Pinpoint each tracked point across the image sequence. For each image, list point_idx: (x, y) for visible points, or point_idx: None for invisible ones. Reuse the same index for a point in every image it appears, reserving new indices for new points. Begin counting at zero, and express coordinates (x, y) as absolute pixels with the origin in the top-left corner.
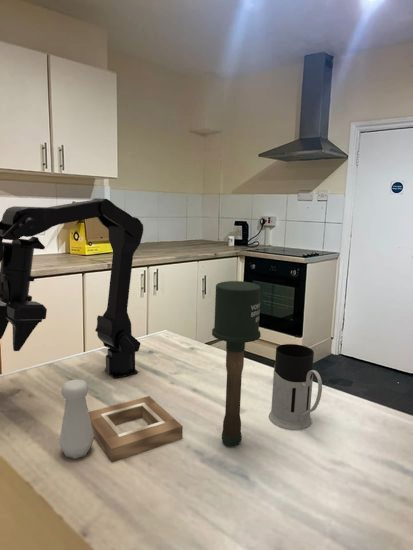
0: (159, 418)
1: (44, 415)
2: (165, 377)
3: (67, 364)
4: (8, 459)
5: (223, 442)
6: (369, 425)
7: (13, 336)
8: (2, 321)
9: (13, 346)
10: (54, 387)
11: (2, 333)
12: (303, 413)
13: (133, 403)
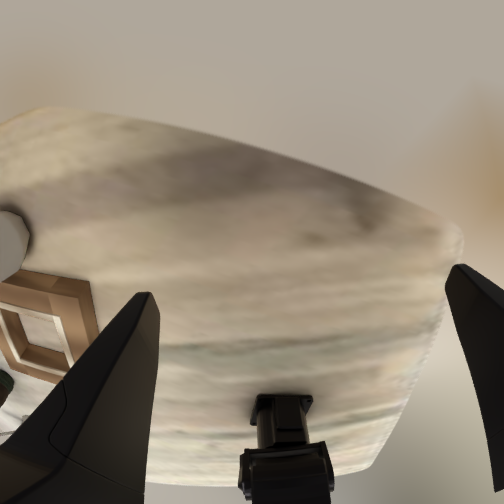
0: (28, 364)
1: (173, 228)
2: (206, 435)
3: (401, 352)
4: (36, 112)
5: (1, 372)
6: None
7: (90, 374)
8: (501, 379)
9: (129, 311)
10: (314, 299)
11: (458, 317)
12: (10, 432)
13: None
